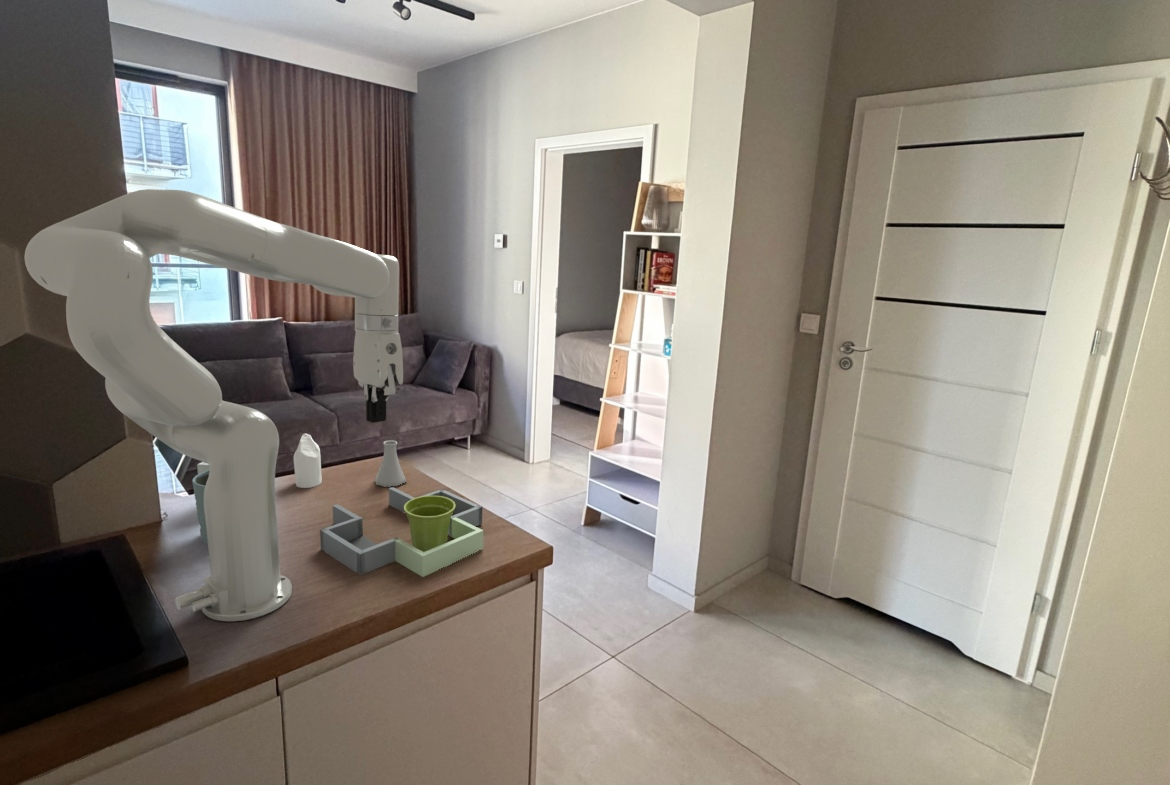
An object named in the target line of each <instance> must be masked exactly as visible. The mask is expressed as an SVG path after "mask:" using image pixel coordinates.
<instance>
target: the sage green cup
mask: <svg viewBox="0 0 1170 785" xmlns="http://www.w3.org/2000/svg"><path fill="white" fill-rule="evenodd" d="M209 473H210V470H209V471H205V472H202V473H200V474H198V473H197V475H195V476H194V477H193V478H192V480H191V482H192V487H193V488H192V489H193V494H194V499H195V507H196V515H197V518H198V519H197V520H198V525H199V526H200V527H199V532H200V539H201V541H202V543H203V544H205V545H207V546H208V540H207V529H206V518H205V512H204V490H205V486H206V483H207V480H208V477H209Z"/></svg>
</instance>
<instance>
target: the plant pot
mask: <svg viewBox="0 0 1170 785" xmlns="http://www.w3.org/2000/svg"><path fill="white" fill-rule="evenodd" d="M421 496H422V497H420V496H418V497H415V498H414V499H411V500H410V501H408V502H407V503H406V504H405V505H404V511H405V512H406V513H407V514H406V517H407V519H408V524H409V529H410V530H409V531H410V537H411V544H412V546H413V547H415V548H417V549H419V550H421V551H422V552H426V551H428V550H431V549H433V548H435V547H438V546H440V545H442V544H445V543H447V542H448V537H449V536H448V529H449V524H450V518H451V516H452V513H453V511H454V509H455V502H454V501H453V500H451V499H449V498H447V497H443V496H423V495H421Z"/></svg>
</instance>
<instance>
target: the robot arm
mask: <svg viewBox="0 0 1170 785" xmlns="http://www.w3.org/2000/svg"><path fill="white" fill-rule="evenodd" d="M159 254H160V255H168V256H169V255H170V256H176V257H180V258H185V259H189V260H192V261H196V262H200V263H204V264H208V265H212V266H215V267H219V268H224V269H227V270H231V271H234V272H239V273H242V274H245V275H249V276H253V277H256V278H261V279H264V280H265V279H266V280H271V281H277V282H283V283H295V284H296V283H297V284H304V285H311V286H312V287H313V288H314V289H316V290H317V291H318V292H321V293H323V294H326V295H332V296H338V297H347V298H348V297H349V298H354V331H355V334H354V343H353V344H354V345H353V357H352V358H353V360H352V361H353V365H352V366H353V377H354V379H355V380H357V383H358V385H359V386H360V387H361V388H362V389H363V393H364V399H365V403H366V404H365V407H366V408H365V409H366V410H365V415H366V416H365V419H366V421H367V422H369V423H372V424H374V423H379V422H386V420H387V402H388V400H389V396H391V395H392V396H393V395H395V394H396V386H398V387H399V386H400V387H401V386H402V385H403V383H404V359H403V349H402V348H403V345H402V342H401V340H402V339H401V334H400V333H399V309H400V308H399V299H400V298H399V296H400V263H399V260H398V259H397V258H396V257H395V256H393V255H389V254H379V253H378V254H377V253H374V252H371V251H369V250H368V249H367V250H366V249H364V248H361V247H358V246H356V245H353V244H351V243H347V242H344V241H342V240H341V241H340V240H337V239H334V238H331V237H327V236H323V235H320V234H316V233H313V232H310V231H307V230H303V229H300V228H297V227H294V226H291V225H288V224H283V223H281V222H280V223H279V222H276V221H273V220H271V219H267V218H265V217H262V216H259V215H257V214H253V213H250V212H248V211H245V210H242V209H240V208H238V207H234V206H231V205H228V204H226V203H224V202H223V203H222V202H221V201H218V200H215V199H213V198H209V197H208V196H207V197H206V196H204V195H202V194H198V193H194V192H190V191H188V190H187V191H186V190H181V189H180V190H179V189H155V188H154V189H153V188H151V189H149V188H148V189H147V188H146V189H139V190H134V191H131V192H129V193H126V194H124V195H121V196H118V197H116V198H114V199H112V200H109V201H107V202H105V203H102V204H100V205H98V206H95V207H92V208H90V209H88V210H85V211H83V212H81V213H78V214H76V215H73V216H71V217H68V218H66V219H63V220H62V221H59V222H56V223H53V224H52V225H50V226H47V227H45V228H44V229H42V230H40V231H38V233H36V234H34V236H32V238H31V239H30V240H29V242H28V243H27V245H26V248H25V251H24V263H25V264H24V265H25V267H26V270H27V272H28V274H29V275H30V277H31V278H32V280H34V281H35V282H36V283H37V284H38V285H39V286H41V287H42V288H44V289H46V290H47V291H49V292H52V293H54V294H57V295H61V296H63V297H66V302H65V308H66V309H65V312H66V316H65V318H66V326H67V331H68V335H69V336H68V337H69V339H70V342H71V343H72V345H73V348H74V349H75V350H76V352H77V353H78V354H79V355H80V357H81V358H82V359H84V361H85V362H86V363H87V364H88V365H90V367H92V368H93V369H94V370H96V371H97V372H98V373H99V374H100V375H101V376H103V378H105V381H104V386H105V390H106V395H107V397H108V399H109V400H110V402H111V403H112V404H113V405H114V407H115V408H116V409H117V410H118V411H120V412H121V413H122V415H124V416H125V417H127V418H128V419H130V420H131V421H132V422H134V423H135V424H136V425H138V426H139V427H141V428H142V429H144V430H145V431H146V432H148V433H149V434H150V435H151V436H154V437H155V439H158V440H159V441H161V442H162V443H163V444H165V445H166V446H167V447H169V448H171V449H173V450H174V451H176V452H178V453H180V455H183V456H187V457H189V458H190V459H191V458H192V459H194V460H197V461H200V462H201V463H202V462H204V463H207V464H209V467H210V473H209V477H208V480H207V483H206V486H205V490H204V512H205V518H206V529H207V540H208V545H207V549H208V560H209V571H210V573H209V574H210V576H208V577H204V578H203V582H204V583H203V584H204V585H202V586H199V587H198V588H197V590H195V591H192V592H187V593H185V594H182V595H179V596H177V597H175V600H174V602H175V606H176V608H177V610H178V611H181V610H183V609H186V608H188V607H191V608H192V611H193V612H197V611H200V610H201V611H202V613H203V614H204V615H205V616H206V617H208V618H210V619H212V620H214V621H218V622H219V621H220V622H238V621H239V622H241V621H248V620H252V619H256V618H259V617H262V616H265V615H268V614H269V613H272V612H273V611H275V610H277V609H279V608H281V607H282V606H283V605H284V604H285V603H286V602H287V601H288V600H289V599H290V598H291V596H292V593H293V586H292V582H291V580H290V579H289V578H288V577H286V576H285V575H282V574H281V565H280V564H281V562H280V548H279V531H278V529H279V527H278V515H277V514H278V513H277V503H276V501H277V500H276V465H277V459H278V454H279V448H280V436H279V431H278V428H277V426H276V425H275V423H274V421H272V419H271V418H270V417H269V416H268V415H266V414H265V413H263V412H262V411H260V410H258V409H255V408H252V407H249V406H246V405H243V404H238V403H233V402H230V401H225V400H223V393H222V389H221V387H220V385H219V383H218V381H217V379H216V378H215V376H214V375H213V374H212V373H211V372H210V371H209V370H208V369H207V368H205V366H203V365H202V364H201V363H200V362H198V361H197V360H196V359H195V358H193V357H192V356H191V355H190V354H189V353H188V352H187V351H186V350H185V349H183V347H181V346H180V345H179V344H177V342H175V341H174V339H172V338H171V337H170V336H169V335H168V334H167V333H166V332H165V331H164V330H163V329H162V328H161V327H160V325H159V324H157V323H156V321H155V320H154V319H155V318H153V315H152V313H151V308H150V306H151V305H150V299H151V297H150V296H151V289H152V286H153V280H154V277H153V276H154V272H153V271H154V270H153V265H152V260H151V258H153V257H154V256H156V255H159Z"/></svg>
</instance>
